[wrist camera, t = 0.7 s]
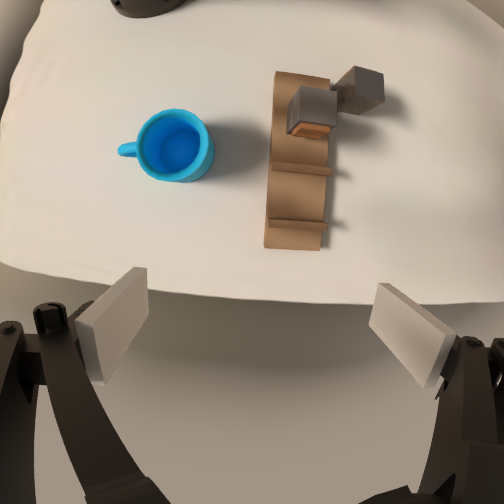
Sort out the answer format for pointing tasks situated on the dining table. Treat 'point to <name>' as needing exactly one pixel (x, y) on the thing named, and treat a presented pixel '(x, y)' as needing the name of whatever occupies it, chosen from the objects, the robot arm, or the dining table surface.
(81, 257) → the dining table surface
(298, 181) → the rail
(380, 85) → the dark grey upright block
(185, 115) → the mug
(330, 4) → the dining table surface
